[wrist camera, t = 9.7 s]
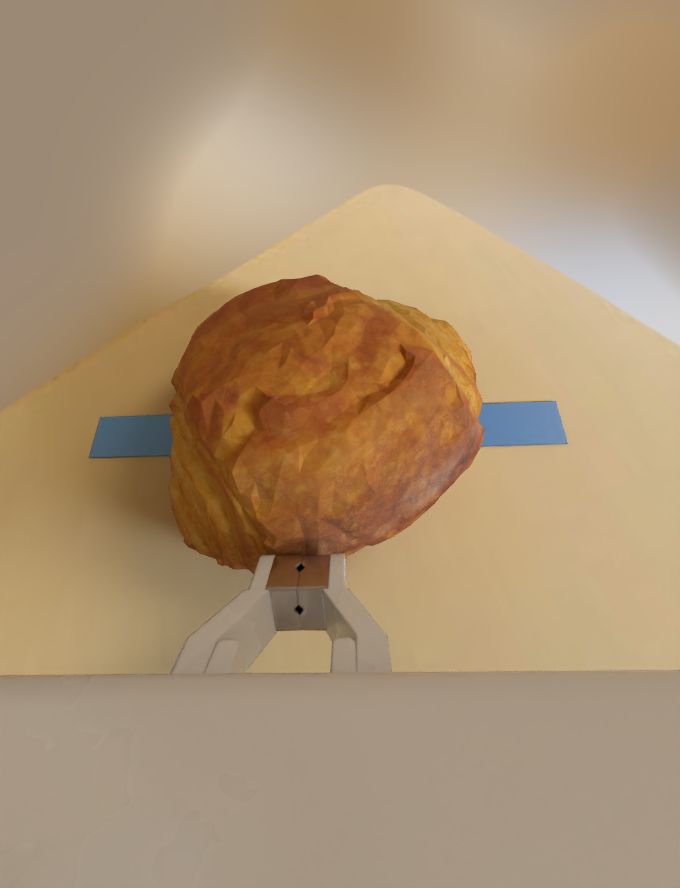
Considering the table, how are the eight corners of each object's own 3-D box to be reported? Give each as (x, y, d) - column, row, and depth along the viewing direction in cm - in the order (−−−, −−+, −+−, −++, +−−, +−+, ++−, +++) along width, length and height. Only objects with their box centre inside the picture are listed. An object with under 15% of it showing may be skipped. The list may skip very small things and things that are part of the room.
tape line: (567, 443, 18) (567, 443, 18) (89, 457, 19) (89, 457, 19) (555, 401, 19) (555, 401, 19) (100, 417, 20) (100, 417, 20)
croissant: (493, 477, 19) (602, 405, 12) (235, 635, 15) (170, 668, 8) (362, 306, 24) (385, 181, 17) (136, 391, 20) (37, 271, 13)
